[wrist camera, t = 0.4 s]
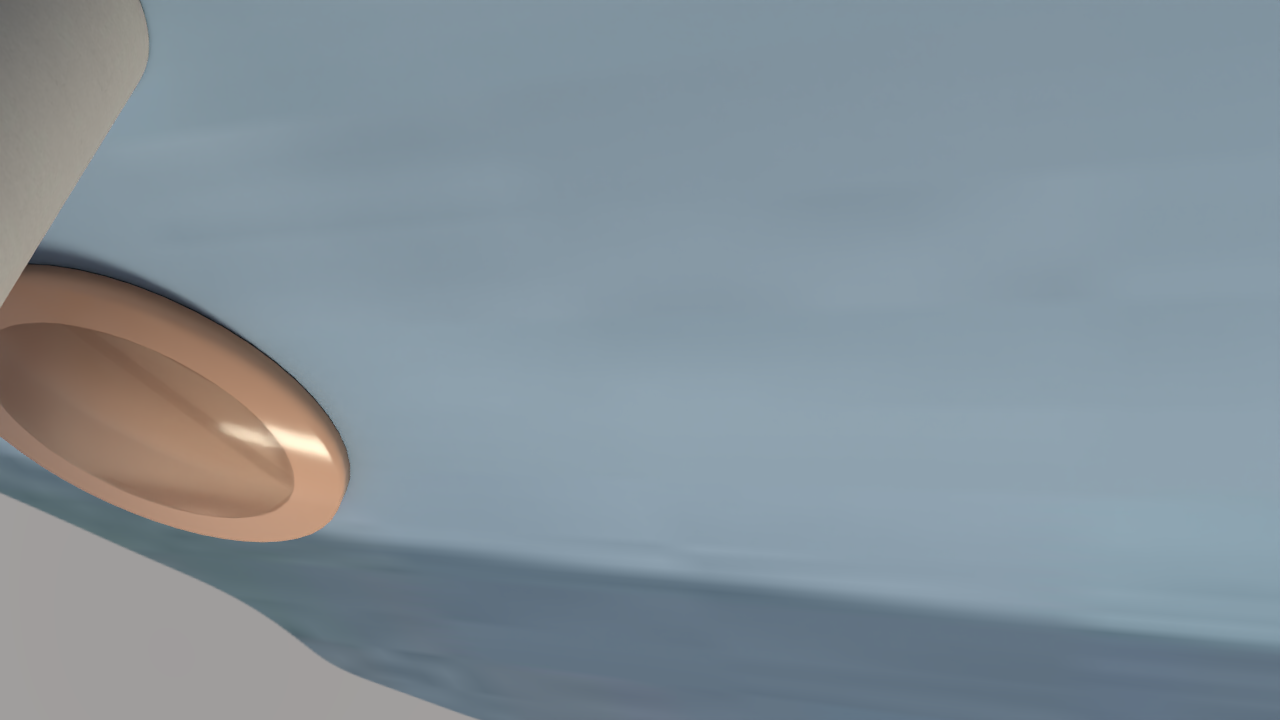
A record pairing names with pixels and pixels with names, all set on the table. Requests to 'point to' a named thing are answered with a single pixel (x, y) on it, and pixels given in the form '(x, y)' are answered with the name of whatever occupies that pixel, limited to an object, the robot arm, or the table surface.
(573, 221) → the table surface
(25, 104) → the coffee cup
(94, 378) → the dish
